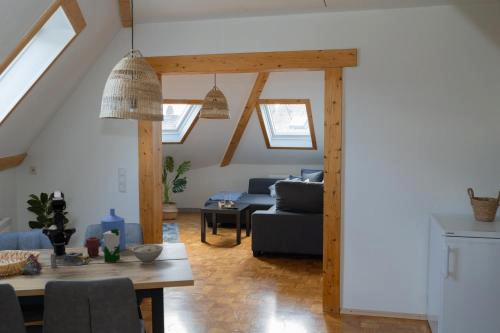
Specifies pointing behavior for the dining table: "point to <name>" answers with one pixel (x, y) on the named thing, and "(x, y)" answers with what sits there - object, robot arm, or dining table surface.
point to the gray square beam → (53, 260)
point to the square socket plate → (74, 259)
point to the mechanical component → (93, 246)
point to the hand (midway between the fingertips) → (59, 244)
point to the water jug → (114, 227)
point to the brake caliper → (31, 266)
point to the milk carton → (111, 245)
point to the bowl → (147, 253)
